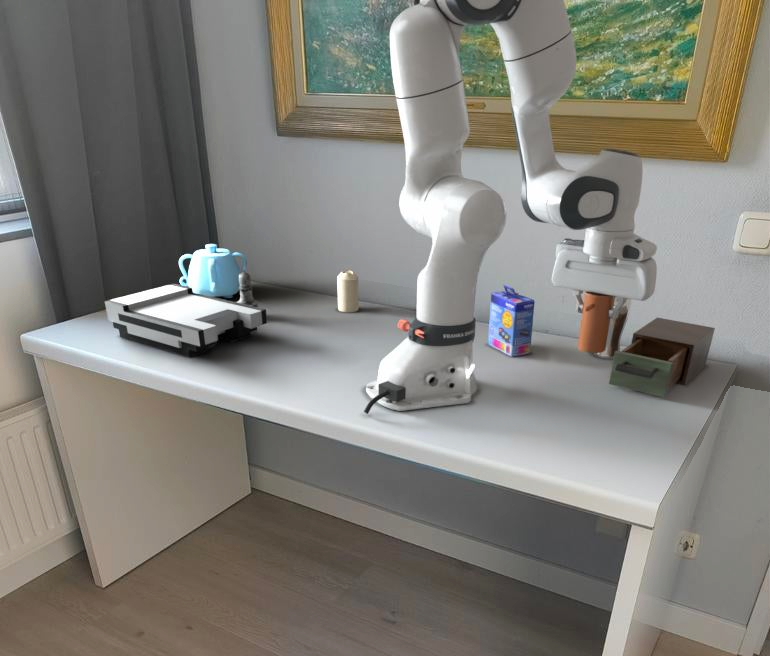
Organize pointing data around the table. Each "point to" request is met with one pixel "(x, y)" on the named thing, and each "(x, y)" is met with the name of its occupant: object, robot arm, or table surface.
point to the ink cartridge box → (511, 322)
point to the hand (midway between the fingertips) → (596, 315)
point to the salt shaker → (246, 290)
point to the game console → (182, 319)
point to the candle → (347, 291)
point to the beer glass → (615, 331)
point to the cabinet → (681, 341)
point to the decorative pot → (213, 271)
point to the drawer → (649, 366)
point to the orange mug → (595, 322)
